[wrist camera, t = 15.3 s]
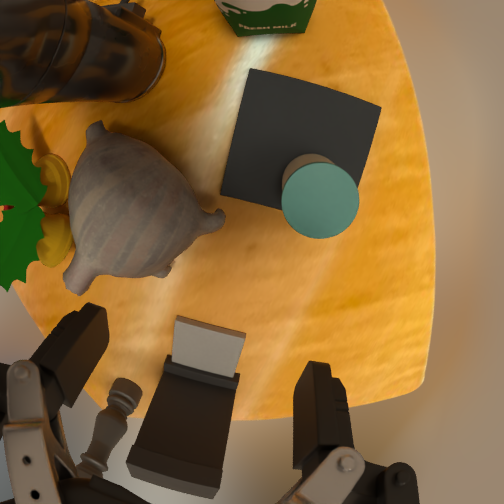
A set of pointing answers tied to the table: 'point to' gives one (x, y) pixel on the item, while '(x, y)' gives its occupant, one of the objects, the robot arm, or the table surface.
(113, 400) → the candle holder
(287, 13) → the fresh milk carton
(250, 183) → the mat
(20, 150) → the ornament
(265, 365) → the table surface
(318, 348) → the table surface
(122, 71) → the robot arm
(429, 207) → the table surface
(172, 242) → the piggy bank
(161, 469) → the coffee maker
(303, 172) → the container
